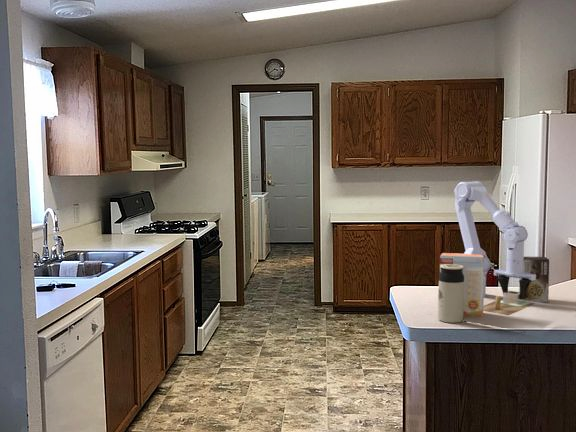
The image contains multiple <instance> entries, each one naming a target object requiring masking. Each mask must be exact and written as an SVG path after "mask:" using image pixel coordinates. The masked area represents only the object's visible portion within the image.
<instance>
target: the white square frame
mask: <svg viewBox="0 0 576 432" xmlns="http://www.w3.org/2000/svg"><path fill="white" fill-rule="evenodd" d="M502 295H503V297H502V299H503V302H504V303H510V304H516V305H518V304H520V303H523V301H524V300H523V299H520V292H519V291H516V290H515V291H514V290H509V289H508V291H507V292H504V293H503V292H502Z"/></svg>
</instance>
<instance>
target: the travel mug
mask: <svg viewBox="0 0 576 432" xmlns="http://www.w3.org/2000/svg"><path fill="white" fill-rule="evenodd" d="M440 267H441V272H440V271H439V274H438V304H437V307H438V308H437V309H438V310H437V319H438V320H439V321H440V322H443V323H448V324H456V323H461V322H463V321H464V315H463V305H464V275H463V273H462V270H463V268H464V267H463V266H462V265H457V264H442V265H440V264H439V268H440Z"/></svg>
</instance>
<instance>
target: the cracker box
mask: <svg viewBox="0 0 576 432" xmlns="http://www.w3.org/2000/svg"><path fill="white" fill-rule="evenodd" d="M442 264H457V265H462V266H463V267H464V268H463V270H462V273H463V275H464V305H463V316H470V317H482V318H483V315H484V311H483V306H484V305H485V304H484V301H485V300H484V299H485V298H484V297H485V296H484V255H477V254H464V253H459V252H457V253H455V252H454V253H453V252H442V253H441V254H440V256H439V273H440V272H441V267H440V265H442Z"/></svg>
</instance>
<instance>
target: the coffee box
mask: <svg viewBox="0 0 576 432" xmlns="http://www.w3.org/2000/svg"><path fill="white" fill-rule="evenodd" d="M523 272H525V273H530V274H535V275H536V280H534V281H532V280H531V283H530V284H529V286H528V288H527V290H526V293H525V297H524V299H523V301H528V302H532V303H533V302H534V303H549V289H550V286H549V284H550V283H549V282H550V277H549V276H550V258H547V257H545V256H524V260H523ZM519 280H522V279H520V278H519ZM518 285H519V287H518V288H519V289H518V290H519V291H518V292H520V284H518Z"/></svg>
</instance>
